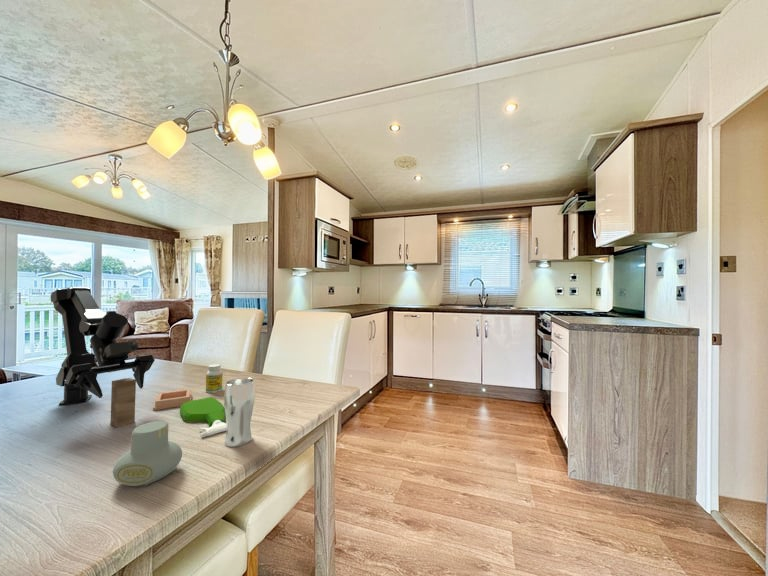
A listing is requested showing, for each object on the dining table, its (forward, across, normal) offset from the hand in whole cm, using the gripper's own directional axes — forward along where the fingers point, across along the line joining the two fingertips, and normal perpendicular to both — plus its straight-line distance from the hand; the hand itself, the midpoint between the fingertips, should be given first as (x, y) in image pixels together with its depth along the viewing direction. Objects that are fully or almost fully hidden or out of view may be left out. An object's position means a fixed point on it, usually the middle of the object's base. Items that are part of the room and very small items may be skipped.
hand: (122, 392), depth 84 cm
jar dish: (+3, +16, +9) cm, 18 cm away
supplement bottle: (+3, +29, +9) cm, 31 cm away
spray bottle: (+19, +14, -6) cm, 24 cm away
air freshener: (+31, -8, -18) cm, 37 cm away
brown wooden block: (+6, 0, +6) cm, 9 cm away
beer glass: (+33, +10, -20) cm, 40 cm away
